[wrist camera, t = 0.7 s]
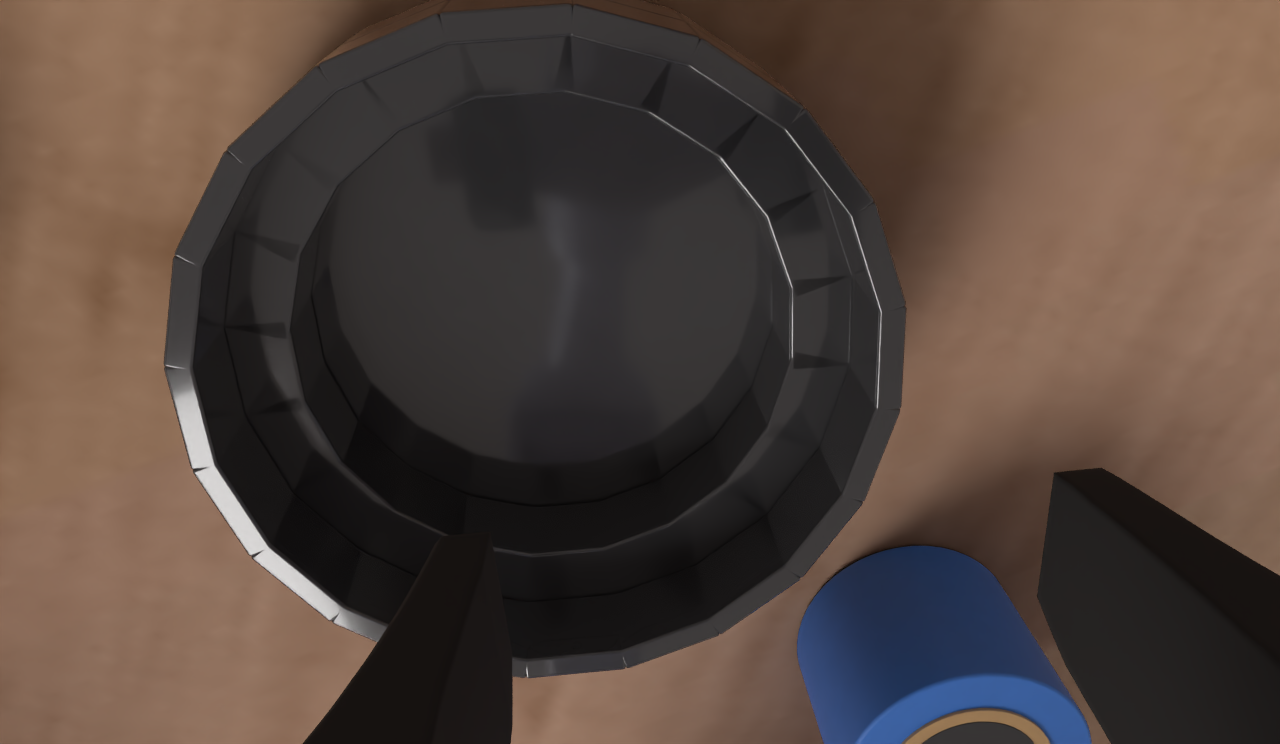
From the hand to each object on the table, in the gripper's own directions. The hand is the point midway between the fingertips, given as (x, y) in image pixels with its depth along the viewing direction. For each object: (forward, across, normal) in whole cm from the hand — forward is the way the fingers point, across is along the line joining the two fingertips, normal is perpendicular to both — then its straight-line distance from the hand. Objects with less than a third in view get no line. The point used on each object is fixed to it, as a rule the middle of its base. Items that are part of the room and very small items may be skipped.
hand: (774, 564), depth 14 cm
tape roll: (+10, -5, +11) cm, 16 cm away
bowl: (+10, +3, +1) cm, 11 cm away
